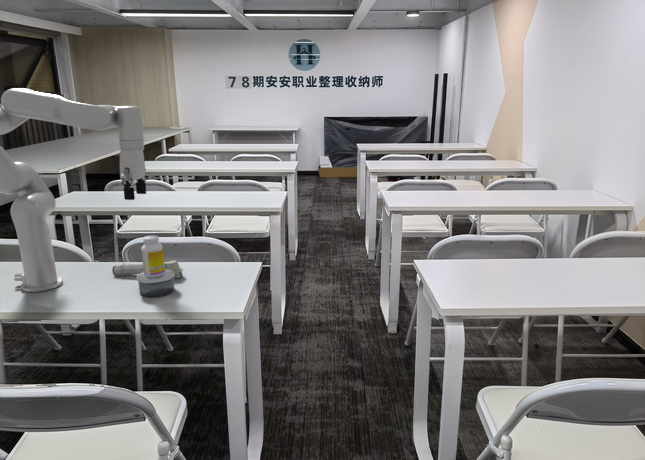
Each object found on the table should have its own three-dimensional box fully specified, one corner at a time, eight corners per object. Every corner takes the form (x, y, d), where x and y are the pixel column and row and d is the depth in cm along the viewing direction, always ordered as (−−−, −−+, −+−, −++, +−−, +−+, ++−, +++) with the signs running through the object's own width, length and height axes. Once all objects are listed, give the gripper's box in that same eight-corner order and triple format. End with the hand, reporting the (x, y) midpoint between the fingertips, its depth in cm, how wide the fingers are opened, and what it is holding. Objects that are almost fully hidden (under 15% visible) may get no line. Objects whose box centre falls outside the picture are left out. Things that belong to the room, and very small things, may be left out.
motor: (132, 298, 163) (130, 281, 162) (146, 283, 176) (144, 267, 174) (169, 298, 163) (168, 281, 161) (181, 283, 176) (179, 267, 174)
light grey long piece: (117, 262, 185) (182, 256, 182) (122, 279, 187) (186, 273, 183) (110, 267, 180) (176, 260, 177) (114, 285, 182) (180, 278, 178)
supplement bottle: (170, 273, 169) (166, 235, 165) (155, 279, 163) (151, 241, 160) (154, 270, 172) (150, 233, 168) (139, 276, 166) (135, 238, 163)
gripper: (131, 142, 174) (135, 191, 179) (108, 147, 158) (113, 201, 162) (152, 142, 174) (156, 192, 179) (132, 148, 157) (136, 202, 162)
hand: (135, 196), depth 170 cm, fingers open, 9 cm apart
